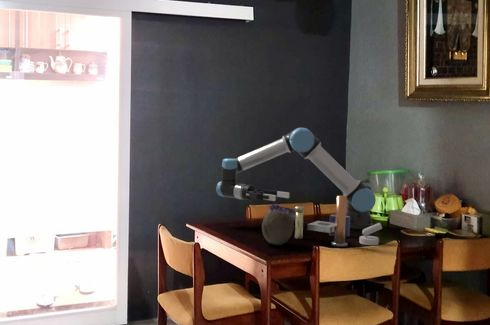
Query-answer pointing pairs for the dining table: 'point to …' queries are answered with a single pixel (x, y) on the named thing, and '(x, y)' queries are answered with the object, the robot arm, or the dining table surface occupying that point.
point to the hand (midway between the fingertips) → (282, 196)
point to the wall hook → (370, 239)
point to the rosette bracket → (334, 227)
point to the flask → (347, 225)
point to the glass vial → (299, 222)
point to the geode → (284, 209)
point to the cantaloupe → (277, 227)
